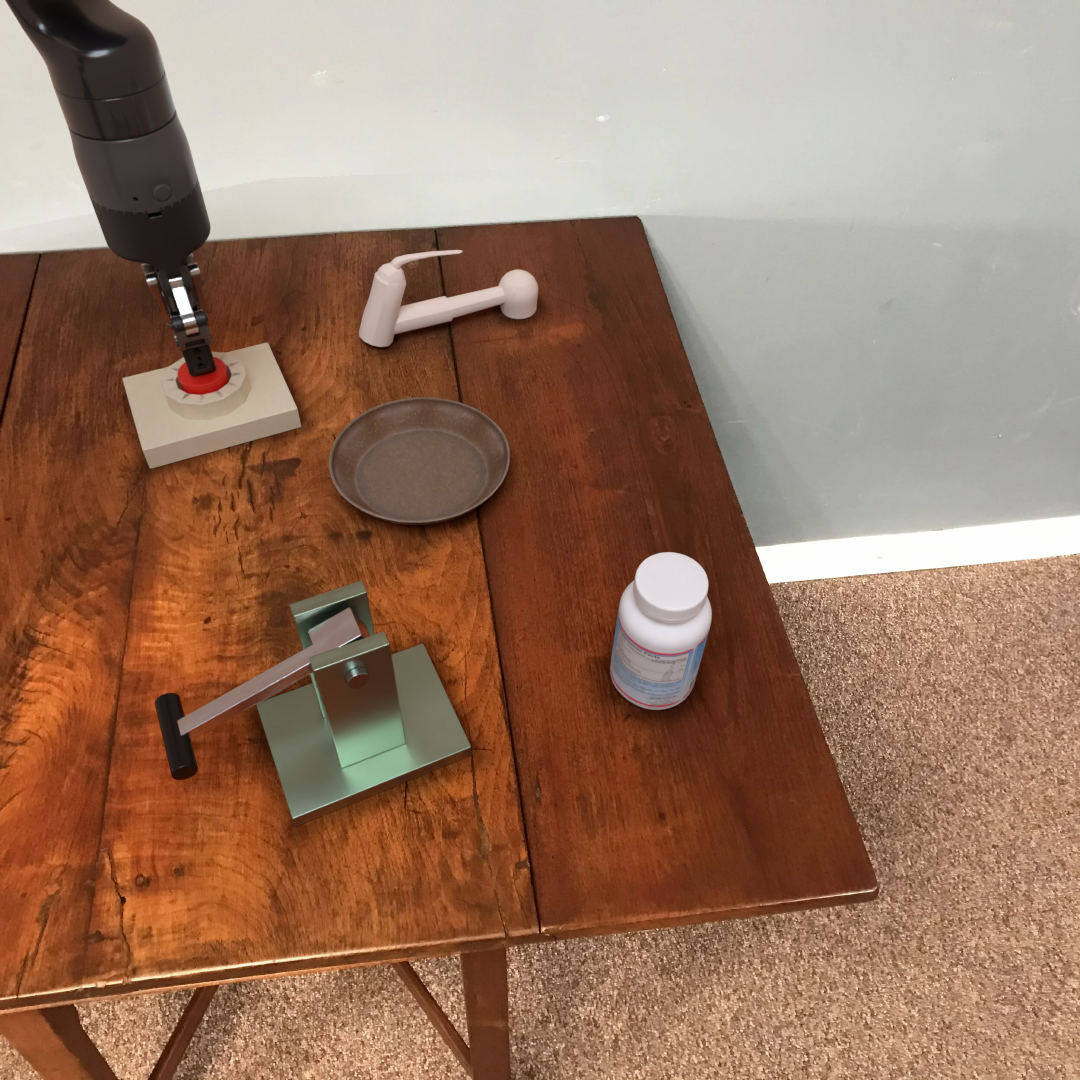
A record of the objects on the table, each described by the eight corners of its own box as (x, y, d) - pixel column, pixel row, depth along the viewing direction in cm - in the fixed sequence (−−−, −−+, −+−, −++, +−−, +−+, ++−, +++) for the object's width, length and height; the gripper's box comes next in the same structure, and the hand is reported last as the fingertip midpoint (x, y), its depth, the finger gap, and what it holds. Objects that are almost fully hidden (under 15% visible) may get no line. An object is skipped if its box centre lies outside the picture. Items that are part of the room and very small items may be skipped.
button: (188, 406, 79) (182, 390, 78) (178, 378, 82) (173, 362, 80) (235, 394, 81) (230, 378, 79) (224, 366, 83) (219, 350, 82)
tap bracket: (295, 827, 59) (253, 726, 49) (259, 712, 64) (215, 600, 54) (472, 755, 62) (466, 648, 53) (424, 652, 68) (410, 536, 58)
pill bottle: (651, 626, 70) (672, 527, 61) (711, 682, 67) (741, 585, 58) (591, 670, 67) (603, 572, 58) (650, 729, 64) (672, 636, 56)
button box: (150, 469, 79) (135, 434, 76) (129, 396, 84) (115, 361, 81) (301, 427, 83) (294, 392, 79) (272, 360, 88) (263, 325, 85)
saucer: (386, 400, 85) (383, 376, 83) (536, 446, 82) (537, 423, 80) (298, 510, 76) (292, 487, 74) (463, 567, 73) (461, 545, 71)
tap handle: (185, 786, 54) (161, 772, 52) (167, 713, 57) (144, 698, 55) (386, 672, 54) (369, 655, 52) (358, 606, 57) (341, 587, 56)
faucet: (527, 355, 97) (559, 271, 91) (365, 348, 88) (389, 254, 82) (512, 333, 99) (543, 249, 93) (353, 324, 90) (375, 230, 84)
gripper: (73, 146, 69) (143, 336, 83) (101, 237, 62) (173, 430, 75) (176, 128, 72) (228, 315, 85) (215, 214, 64) (265, 405, 77)
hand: (202, 369), depth 80 cm, fingers closed
